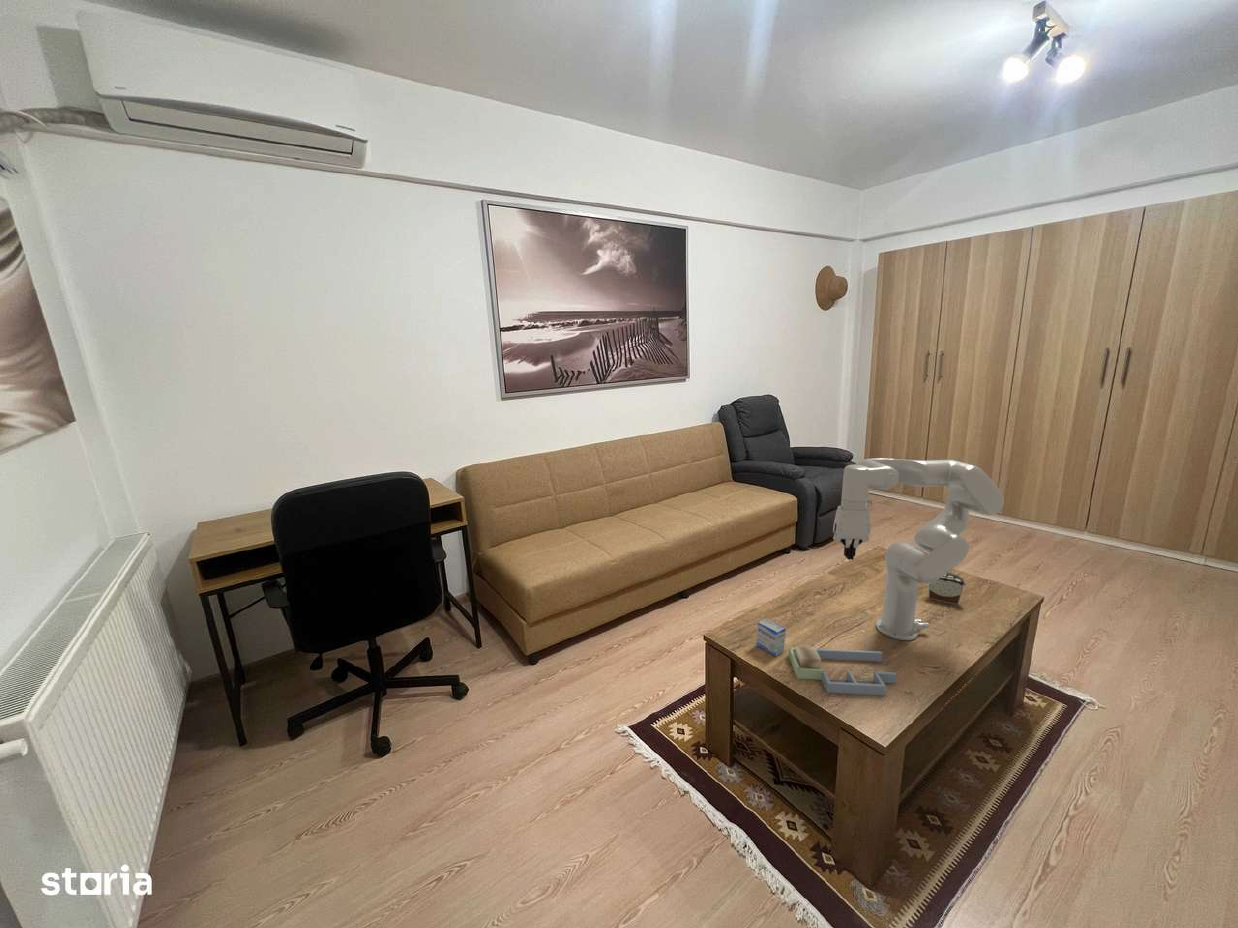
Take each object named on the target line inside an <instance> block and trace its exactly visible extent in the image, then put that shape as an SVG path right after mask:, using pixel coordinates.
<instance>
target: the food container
mask: <svg viewBox="0 0 1238 928" xmlns="http://www.w3.org/2000/svg"><path fill="white" fill-rule="evenodd" d="M966 585H967V584H966V580H965V579H964V578H963V577H962V576H960V575H958V574H956V573H953V572H950V571H949V572H948V573H947V574H945V575H944V576H942V577H941V578H940V579H938V580H937V581H935V582H933V583H931V584H928V600H932V599H933V600H932V601H937V602H942V601H943V603H947V604H950V605H956V606H957V605H959V603H960V599H961V597H962V593H963V589H964V587H967V586H966Z"/></svg>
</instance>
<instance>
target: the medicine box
mask: <svg viewBox="0 0 1238 928" xmlns="http://www.w3.org/2000/svg"><path fill="white" fill-rule="evenodd" d="M756 628H757V631H756V641H755V642H756V643H755V644H756V647H758V648H760V649H761V650H764V651H765V652H767V653H769V654H771V655H772V656H774V657H777V656H779V655H781V654H783V653H784V652H785V644H786V643H785V642H786V631H787V629H786V628H785V627H783V626H781V625H779V624H777V623H775V622H773V621H771V620H769V619H767V618H763V619H762V620H760V621H759V622H757V627H756Z"/></svg>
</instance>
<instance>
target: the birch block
mask: <svg viewBox="0 0 1238 928" xmlns="http://www.w3.org/2000/svg"><path fill="white" fill-rule="evenodd" d="M794 648H795V657H796V659H797V662H798V664H799V667H800V668H809V669H822V668H821V667H822V659H821V658H820V656H819V654H818V652H817V650H816V649H817V648H816V647H810V646H809V647H808V646H806V647H805V646H801V647H800V646H795V647H794Z"/></svg>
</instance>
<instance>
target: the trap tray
mask: <svg viewBox="0 0 1238 928" xmlns="http://www.w3.org/2000/svg"><path fill="white" fill-rule="evenodd" d="M795 648H796V647H789V649H788V658H789V660H790V663H791V665H792V668H793V671H794V673H795V676H796V679H799V680H802V679H803V680H820V681H821V682H822V684H823V686H824V688H825V691H826V693H828V694H829V693H831V694H845V695H847V694H848V695H864V696H865V695H867V696H886V691H887V690H886V689H887V685H886V684H896V683H897V676H898V675H897V673H896V672H892V671H891V672H889V671H873V678H872V681H871V680H856V678H855V676H854V674H853V673H852V671H851V669H847V672H846V679H835V678H834V679H832V678H830V679H829V676H828V674H827V672H826V669H823V668H820V669H809V668H800V667H799V664H798V662H797V659H796V657H795ZM816 650H817V652H818V654H819V656H820V658H821V660H837V661H840V660H842V661H858V662H860V661H861V662H882V660H883V651H879V650H878V651H876V650H875V651H874V650H858V649H857V650H854V649H853V650H852V649H834V648H833V649H831V648H830V649H829V648H816Z"/></svg>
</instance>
